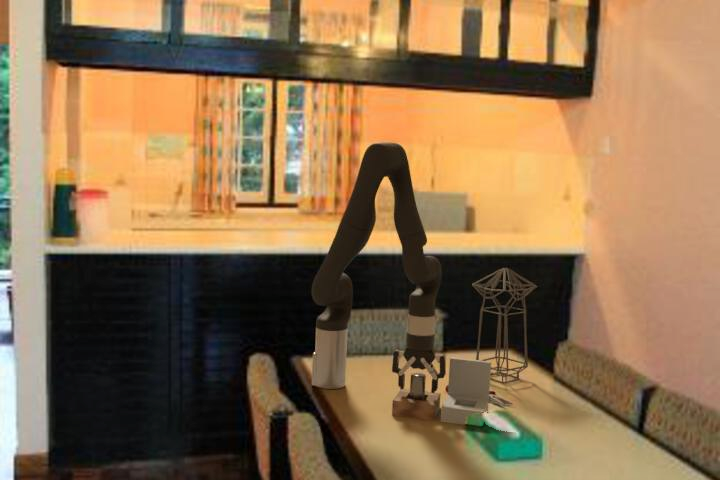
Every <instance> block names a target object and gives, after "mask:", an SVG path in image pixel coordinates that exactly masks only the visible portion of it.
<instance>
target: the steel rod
mask: <svg viewBox="0 0 720 480" xmlns="http://www.w3.org/2000/svg"><path fill="white" fill-rule="evenodd" d="M426 378H427V375H426V374H425V373H421V372H413V373H411V374H410V381H409V382H410V386H409V389H410V399H413V400H421V401H424V398H425V391H426Z"/></svg>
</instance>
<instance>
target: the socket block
mask: <svg viewBox="0 0 720 480" xmlns="http://www.w3.org/2000/svg"><path fill="white" fill-rule="evenodd" d="M391 404H392V405H391V416H398V417H405V418H411V419H419V420H425V421H434V419H435V418H436V416H437V414H438V412H439V410H440V408H441V393H440V392H436V391H435V392H434V393H431V391H426V390H425V398H424V401H421V400H413V399H410V388H404V389H399V391H398V392H397V394H396V395H395V397H394V398H393V399H392V403H391Z"/></svg>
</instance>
